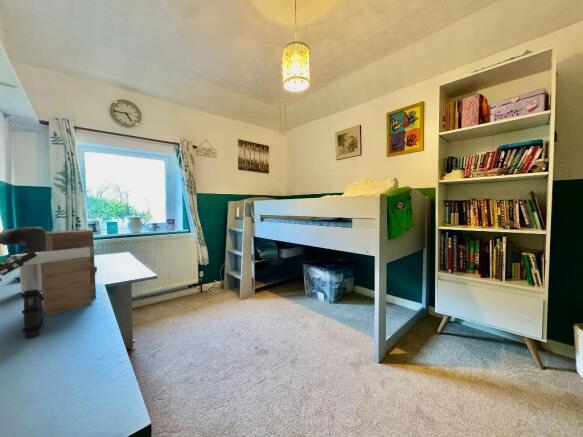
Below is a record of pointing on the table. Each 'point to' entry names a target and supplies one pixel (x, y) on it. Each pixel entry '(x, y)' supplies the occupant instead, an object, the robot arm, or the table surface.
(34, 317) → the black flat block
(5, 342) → the table surface
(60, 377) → the table surface
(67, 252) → the bar
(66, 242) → the wooden plank crate
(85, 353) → the table surface
